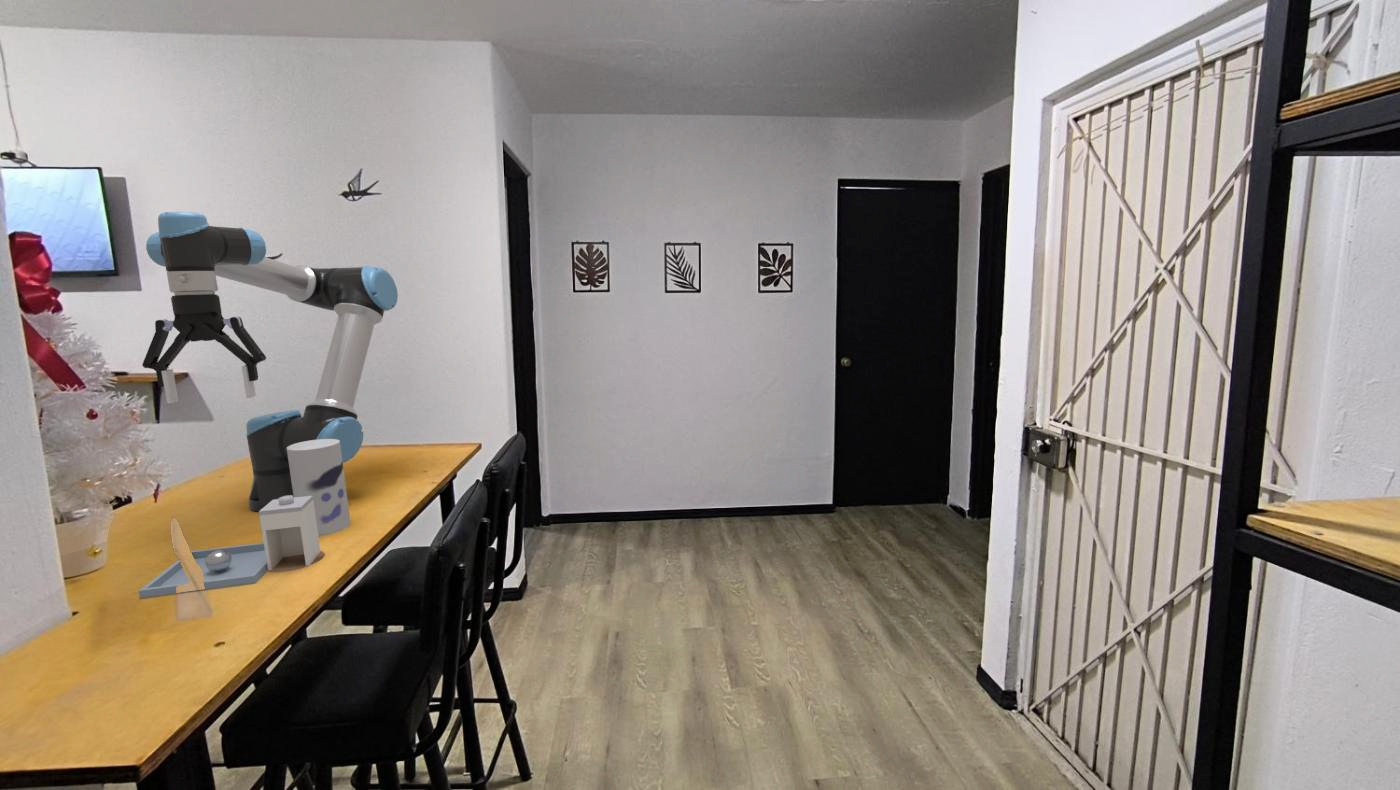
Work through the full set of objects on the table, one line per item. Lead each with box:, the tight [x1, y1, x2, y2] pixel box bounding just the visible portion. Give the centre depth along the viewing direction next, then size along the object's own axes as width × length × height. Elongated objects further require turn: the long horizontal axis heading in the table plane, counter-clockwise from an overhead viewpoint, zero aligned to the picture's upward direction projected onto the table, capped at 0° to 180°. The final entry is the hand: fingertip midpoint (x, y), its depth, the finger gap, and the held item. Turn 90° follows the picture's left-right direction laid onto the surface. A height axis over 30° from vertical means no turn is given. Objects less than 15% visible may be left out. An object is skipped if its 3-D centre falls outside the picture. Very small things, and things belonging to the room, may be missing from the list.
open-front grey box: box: [258, 495, 321, 572], centre depth 123 cm, size 7×7×13 cm
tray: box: [138, 542, 268, 600], centre depth 121 cm, size 18×18×2 cm
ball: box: [205, 550, 232, 572], centre depth 120 cm, size 4×4×4 cm
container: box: [287, 439, 351, 537], centre depth 140 cm, size 10×10×20 cm
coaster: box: [267, 550, 325, 573], centre depth 124 cm, size 10×10×1 cm
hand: (212, 399), depth 128 cm, fingers open, 13 cm apart
